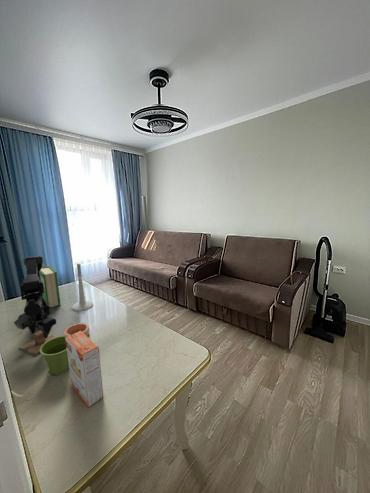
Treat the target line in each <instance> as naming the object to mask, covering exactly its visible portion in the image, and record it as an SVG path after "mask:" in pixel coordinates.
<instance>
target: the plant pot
mask: <svg viewBox="0 0 370 493" xmlns="http://www.w3.org/2000/svg"><path fill="white" fill-rule="evenodd" d="M66 337H68V336H64V335H60V336H59V335H58V336H56V337H55V338H52V339H50V340H48V341H47V342H45V343H44V344H43V345H42V346H41V348H40V353H41V354H40V355H42V357H43V358H44V360H45V363H46V365H47V367H48V371H49V374H50V375H56V376H57V375H60V374H63V373H65V372H66V371H67V370H68V369H69V362H68V355H67V347H66V340H65V338H66Z"/></svg>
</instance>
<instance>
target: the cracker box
mask: <svg viewBox="0 0 370 493" xmlns="http://www.w3.org/2000/svg"><path fill="white" fill-rule="evenodd" d="M65 340H66V347H67V355H68V362H69V368H68V369H69V375H70V382H71V383H70V384H71V386H72V387H73V389H74V390H75V392H76V393H77V395H79V397H80V398H81V399H82V401H83V403H84V404H85V405H86V407H87V409H89V408H91V407H92V406H94V405H95V404H96V403H97V402H98V401H100V400H101V399H102V398H103V397H104V389H103V388H104V387H103V377H102V367H101V357H100V347H99V346H98V344H96V343H95V342H94V341H93V340H92V339H91V338H89V337H88V336H86V335H85V334H84V333H83V332H82V331H79V332H77V333H74V334H72V335H70V336H68V337H66V338H65Z"/></svg>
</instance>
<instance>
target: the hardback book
mask: <svg viewBox="0 0 370 493" xmlns="http://www.w3.org/2000/svg"><path fill="white" fill-rule="evenodd" d="M40 277H41V281H42V283H43V284H44V293H43V298H44V299H45V300H46V301H47V305H49V306H50V308H54V307H57V306H58V307H61V297H60V289H59V282H58V274H57V271H56V270H55V269H54V268H53V267H52V266H50V265H48V266H43V267H42V269H41V271H40Z"/></svg>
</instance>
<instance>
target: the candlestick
mask: <svg viewBox="0 0 370 493" xmlns="http://www.w3.org/2000/svg"><path fill="white" fill-rule="evenodd" d="M76 267H77V268H76V269H77V273H76V276H77V278H78V302H76V303H74V304H73V305H72V307H71V310H72V311H74V312H84V311H87V310H90V309H92V308H93V307H94V302H93V301H90V300H86V296H85V291H84V285H83V273H82V268H81V263H76Z"/></svg>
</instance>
